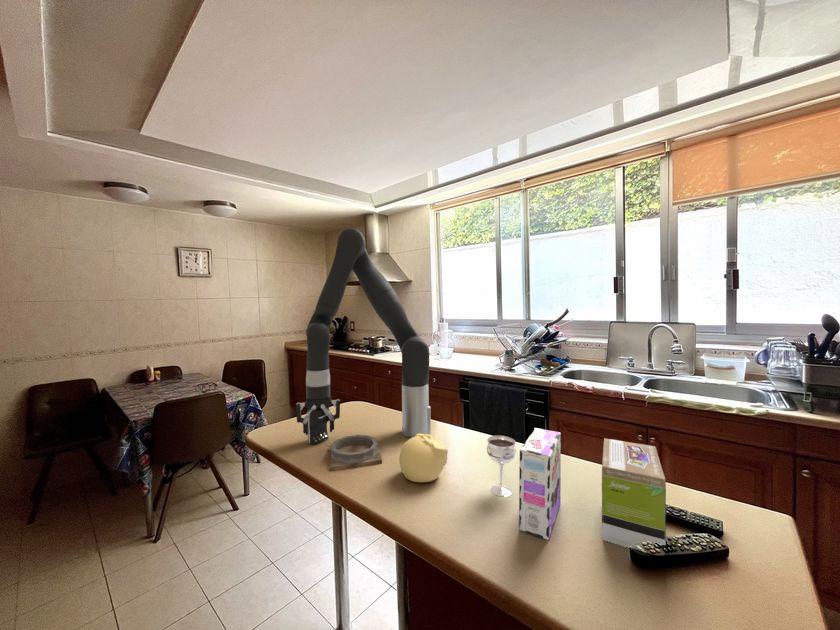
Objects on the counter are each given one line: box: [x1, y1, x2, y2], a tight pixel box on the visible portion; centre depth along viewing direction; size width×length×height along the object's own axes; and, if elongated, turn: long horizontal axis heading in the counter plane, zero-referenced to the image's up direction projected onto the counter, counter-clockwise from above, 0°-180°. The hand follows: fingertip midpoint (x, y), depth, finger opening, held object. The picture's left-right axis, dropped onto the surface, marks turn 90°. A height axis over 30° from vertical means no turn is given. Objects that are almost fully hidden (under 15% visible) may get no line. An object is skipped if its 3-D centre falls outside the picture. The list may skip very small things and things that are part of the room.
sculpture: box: [398, 433, 449, 483], centre depth 85 cm, size 11×12×11 cm
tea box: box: [601, 437, 667, 549], centre depth 65 cm, size 15×10×15 cm, turn 150°
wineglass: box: [486, 435, 517, 497], centre depth 78 cm, size 7×7×12 cm
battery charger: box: [307, 407, 330, 445], centre depth 108 cm, size 7×4×11 cm, turn 147°
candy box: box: [518, 427, 562, 541], centre depth 69 cm, size 14×6×16 cm, turn 148°
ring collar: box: [329, 434, 383, 471], centre depth 97 cm, size 14×14×4 cm
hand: (318, 432), depth 108 cm, fingers closed on battery charger, 7 cm apart
